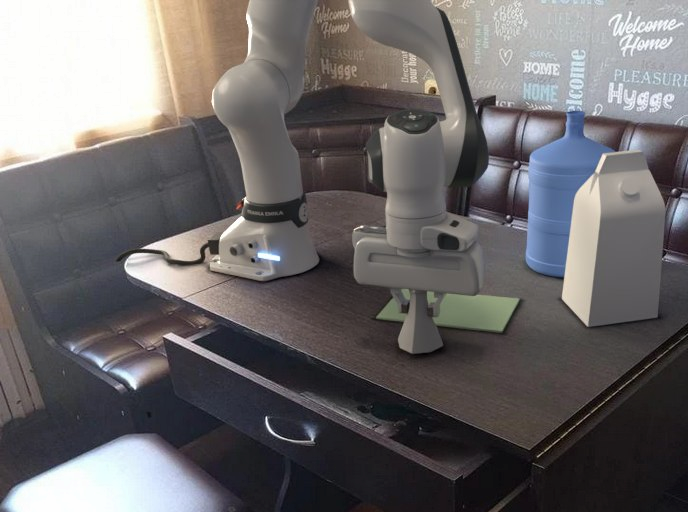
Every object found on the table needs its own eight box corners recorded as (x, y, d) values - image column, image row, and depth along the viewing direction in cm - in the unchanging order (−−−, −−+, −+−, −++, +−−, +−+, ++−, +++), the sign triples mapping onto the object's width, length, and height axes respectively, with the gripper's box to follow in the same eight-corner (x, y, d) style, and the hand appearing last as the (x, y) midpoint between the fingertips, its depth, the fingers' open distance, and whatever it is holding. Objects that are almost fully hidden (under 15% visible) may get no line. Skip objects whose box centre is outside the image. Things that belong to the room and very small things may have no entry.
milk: (626, 290, 136) (642, 140, 123) (657, 317, 126) (678, 157, 113) (561, 298, 135) (570, 147, 121) (587, 327, 125) (600, 166, 111)
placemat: (376, 319, 132) (376, 316, 132) (402, 289, 143) (402, 287, 142) (502, 333, 125) (502, 331, 125) (519, 300, 135) (519, 298, 135)
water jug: (625, 271, 143) (640, 115, 129) (548, 285, 140) (555, 126, 126) (583, 244, 156) (593, 99, 142) (512, 256, 153) (515, 110, 139)
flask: (390, 340, 124) (387, 282, 119) (430, 330, 126) (429, 273, 121) (409, 359, 118) (406, 299, 113) (451, 348, 121) (450, 289, 116)
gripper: (342, 230, 114) (350, 314, 121) (477, 241, 107) (476, 330, 114) (359, 216, 119) (365, 298, 126) (488, 226, 112) (487, 312, 119)
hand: (419, 313), depth 120 cm, fingers closed on flask, 3 cm apart
